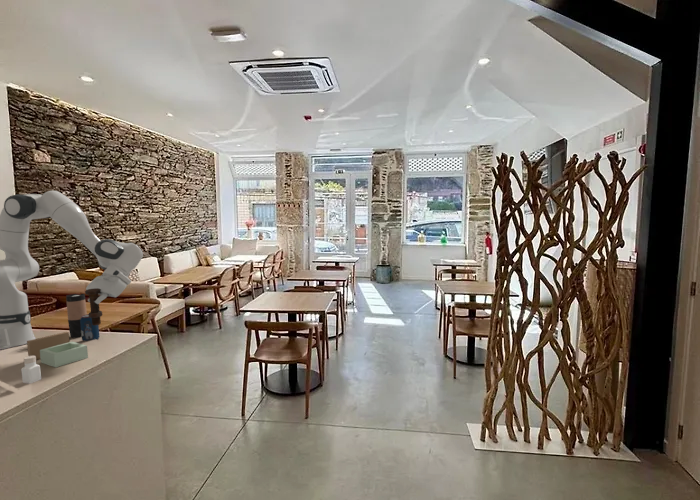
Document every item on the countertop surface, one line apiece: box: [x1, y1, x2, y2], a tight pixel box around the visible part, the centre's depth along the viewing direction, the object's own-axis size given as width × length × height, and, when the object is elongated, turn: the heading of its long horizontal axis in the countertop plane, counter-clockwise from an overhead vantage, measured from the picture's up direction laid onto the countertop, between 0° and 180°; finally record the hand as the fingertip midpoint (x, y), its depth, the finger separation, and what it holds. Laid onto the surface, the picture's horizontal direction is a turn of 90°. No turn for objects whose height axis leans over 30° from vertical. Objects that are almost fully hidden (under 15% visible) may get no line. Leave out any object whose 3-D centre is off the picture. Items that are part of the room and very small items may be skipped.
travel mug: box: [65, 293, 88, 339], centre depth 195 cm, size 8×8×20 cm
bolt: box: [84, 288, 103, 326], centre depth 168 cm, size 6×5×15 cm
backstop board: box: [26, 331, 71, 361], centre depth 161 cm, size 21×14×9 cm, turn 60°
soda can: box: [80, 313, 100, 342], centre depth 187 cm, size 7×7×12 cm
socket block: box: [40, 341, 89, 368], centre depth 159 cm, size 12×12×5 cm
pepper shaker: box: [20, 355, 42, 384], centre depth 139 cm, size 4×4×10 cm
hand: (92, 302), depth 168 cm, fingers closed on bolt, 3 cm apart
